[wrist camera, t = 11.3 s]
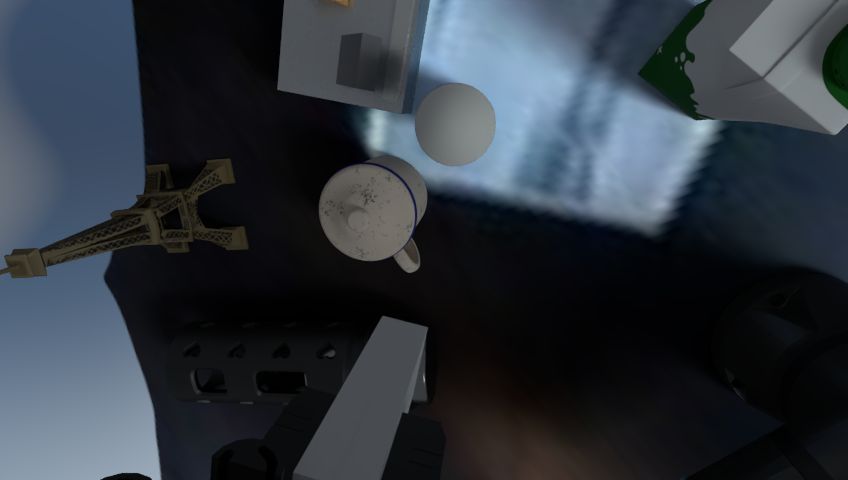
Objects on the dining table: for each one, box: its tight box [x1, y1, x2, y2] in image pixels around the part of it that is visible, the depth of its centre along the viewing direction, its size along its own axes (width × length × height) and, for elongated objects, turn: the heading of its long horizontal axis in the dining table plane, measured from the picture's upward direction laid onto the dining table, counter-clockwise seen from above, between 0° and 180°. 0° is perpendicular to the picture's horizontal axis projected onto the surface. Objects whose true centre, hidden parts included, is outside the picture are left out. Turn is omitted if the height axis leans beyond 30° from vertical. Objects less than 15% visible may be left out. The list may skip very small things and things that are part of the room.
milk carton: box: [638, 0, 848, 135], centre depth 31 cm, size 9×9×20 cm
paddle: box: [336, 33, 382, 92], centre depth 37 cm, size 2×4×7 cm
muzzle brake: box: [165, 318, 437, 412], centre depth 50 cm, size 10×28×10 cm, turn 94°
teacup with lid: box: [319, 156, 427, 273], centre depth 43 cm, size 12×9×12 cm
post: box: [415, 83, 496, 166], centre depth 36 cm, size 5×5×18 cm
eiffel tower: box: [0, 158, 249, 278], centre depth 40 cm, size 11×11×25 cm
